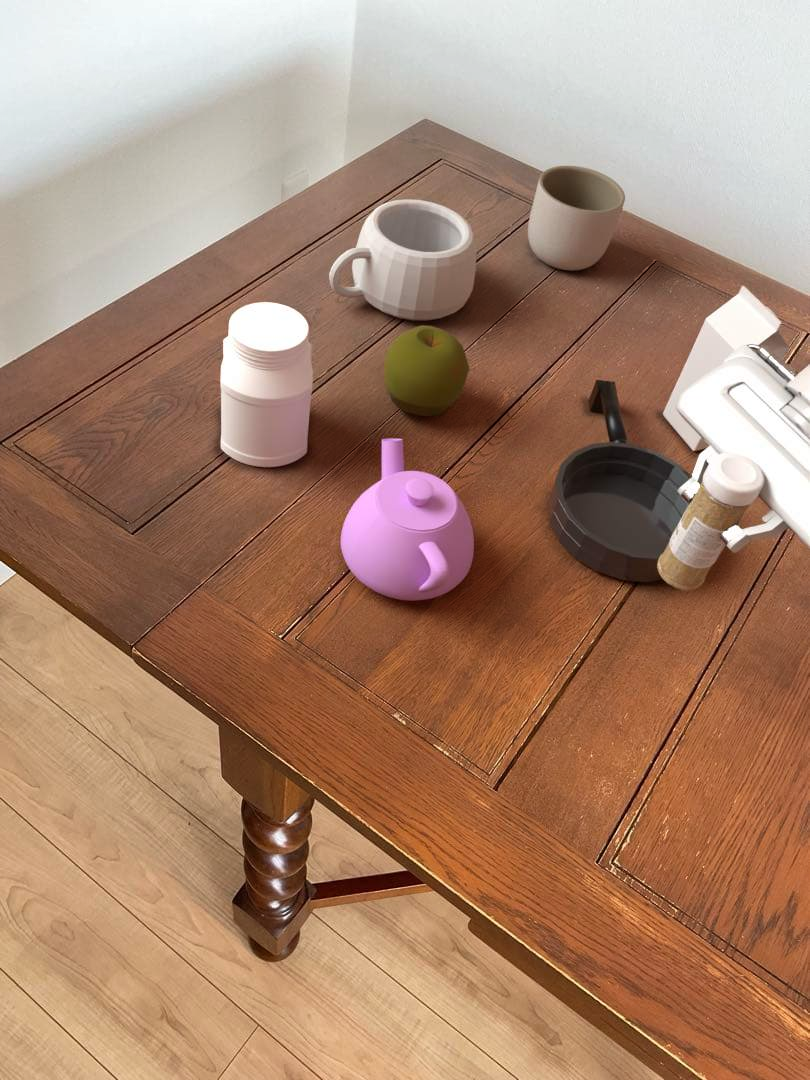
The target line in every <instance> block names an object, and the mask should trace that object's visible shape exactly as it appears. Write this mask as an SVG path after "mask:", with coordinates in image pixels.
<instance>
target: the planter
mask: <svg viewBox="0 0 810 1080" xmlns="http://www.w3.org/2000/svg"><path fill="white" fill-rule="evenodd" d="M625 194H626V193H625V192H624V190H623V188H622V187H621V186H620V185H619V184H618V183H617V182H616V181H615V180H614V179H613V178H611V177H609V176H607V175H605V174H604V173H601V172H599V171H597V170H594V169H591V168H587V167H583V166H578V165H557V166H553V167H550V168H548V169H546V170H544V171H543V172H542V173H541V174H540V176H539V178H538V182H537V185H536V190H535V194H534V198H533V202H532V205H531V210H530V215H529V219H528V223H527V224H528V225H527V239H528V244H529V247H530V248H531V250H532V252H533V254H534V256H535V257H537V258H538V259H539V260H540V261H541V262H542V263H544V264H546V265H547V266H550V267H552V268H555V269H559V270H563V271H581V270H585V269H587V268H590V267H592V266H593V265H595V264H596V263H597V262H598V261H600V259H601V258H602V256H603V255H604V254H605V252H606V251H607V249H608V247H609V245H610V243H611V240H612V238H613V235H614V232H615V230H616V227H617V224H618V221H619V218H620V215H621V213H622V211H623V207H624V204H625V201H626V195H625Z"/></svg>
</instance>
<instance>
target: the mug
mask: <svg viewBox="0 0 810 1080" xmlns="http://www.w3.org/2000/svg"><path fill="white" fill-rule="evenodd" d="M351 262H352V264H351V270H352V271H351V272H352V279H353V284H354V286H345V285H343V284H342V283H341V280H340V279H341V275H342V272H343V271H344V269H345V268H346V267H347V266H348V265H349V264H350V263H351ZM476 268H477V241H476V238H475V235H474V232H473V230H472V227H471V225H470V223H469V222H468V221H467V220H466V219H465V218H464V217H463V216H461V215H460V214H459V213H458V212H456V211H455V210H453V209H451V208H449V207H447V206H444V205H442V204H438V203H436V202H432V201H429V200H428V201H427V200H422V199H409V198H407V199H396V200H391V201H388V202H385V203H381V204H380V205H379V206H377V207H375V208H374V209H373V211H372V212H371V213H370V214H369V216H368V217H366V219H365V221H364V223H363V225H362V227H361V230H360V232H359V235H358V239H357V243H356V246H355V247H352V248H350V249H348V250H346V251H345V252H343V253H342V254H341V255H339V256H338V258H337V259H336V260H334V262H333V264H332V266H331V268H330V271H329V274H328V275H329V276H328V277H329V287H330V288H331V291H332V292H333V293H334V294H336V295H338V296H340V297H343V298H348V299H349V298H350V299H353V298H358V297H359V298H360V297H363V298H364V300H366V302H367V303H368V304H370V305H371V306H373V308H375V309H376V310H379V311H381V312H382V313H385V314H387V315H389V316H392V317H395V318H398V319H402V320H408V321H421V322H424V321H432V320H433V321H434V320H439V319H442V318H445V317H447V316H450V315H452V314H454V313H456V312H457V311H459V310H460V309H461V308H463V307H464V306H465V304H466V303H467V302H468V300H469V298H470V296H471V294H472V292H473V290H474V284H475V278H476Z"/></svg>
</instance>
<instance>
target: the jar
mask: <svg viewBox="0 0 810 1080" xmlns="http://www.w3.org/2000/svg"><path fill="white" fill-rule="evenodd" d="M309 336H310V327H309V323H308V321H307V319H306V318H305V317H304V316H303V315H302V314H301V313H300V312H299V311H298V310H296V309H294V308H293V307H291V306H288V305H285V304H281V303H277V302H270V301H263V302H261V301H259V302H253V303H249V304H245V305H243V306H241V307H240V308H238V309H237V310H236V311H235V312H233V313H232V314H231V316H230V318H229V321H228V336H226V337H225V338H224V339H223V340H222V343H223V344H222V355H223V358H222V361H221V365H220V378H219V379H220V384H219V385H220V392H221V393H220V401H221V402H220V420H221V421H220V423H221V424H220V433H221V434H220V449H221V450H222V452H223V453H225V454H226V455H227V456H228V457H230V458H232V459H233V460H235V461H237V462H239V463H241V464H245V465H248V466H251V467H259V468H276V467H282V466H286V465H290V464H292V463H295V462H296V461H298V460H300V459H301V458H302V457H304V456H305V455H306V454H307V453H308V435H309V423H310V413H311V401H312V394H313V385H314V382H313V381H314V371H313V370H314V369H313V365H312V360H313V351H314V349H313V348H314V346H313V345H312V343H310V342H309Z"/></svg>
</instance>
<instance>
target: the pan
mask: <svg viewBox="0 0 810 1080" xmlns="http://www.w3.org/2000/svg"><path fill="white" fill-rule="evenodd" d="M691 477H692V474H690V473H689V472H688V471H687V469H685V468H684V467H682V466H681V465H680V464H679V463H678V462H676V461H675V460H673V459H671V458H669V457H667V456H665V455H663V454H662V453H660V452H658V451H656V450H653V449H650V448H647V447H643V446H641V445H638V444H634V443H628V444H627V443H618V442H609V441H605V442H598V443H591V444H587V445H586V446H583V447H581V448H579V449H577V450H574V451H572V452H571V453H570V454H569V455H568V456H567V457H566V458H565V459H564V460H563V461H562V463H561V464H560V465H559V468H558V471H557V472H556V476H555V478H554V481H553V484H552V486H551V489H550V492H549V495H548V497H547V501H546V509H547V518H548V523H549V526H550V527H551V529H552V531H553V533H554V534H555V537H556V538H557V540H558V541H559V543H560V544H561V545H562V546H563V547H564V548H565V549H566V550H567V551H568V552H569V553H570V554H571V555H572V556H573V557H574V558H575V559H576V560H578V561H580V562H581V563H583V564H584V565H586V566H588V567H589V568H590V569H592V570H594V571H596V572H598V573H600V574H604V575H606V576H609V577H612V578H615V579H618V580H621V581H628V582H639V583H650V582H657V581H661V580H664V579H663V578H662V577H661V576H660V574H659V572H658V569H657V563H658V559H659V557H660V556H661V555H662V554H663V552H664V551H665V549H666V547H667V546H668V544H669V542H670V538H671V536H672V534H673V533H674V531H675V529H676V527H677V525H678V524H679V522H680V520H681V518H682V516H683V514H684V512H685V511H686V509H687V507H688V506H689V504H688V503H687V502H686V500H685V499H684V498H683V497H682V496H681V495H680V494H679V493H678V489H679V488H680V487H681V486H682V485H683V484H685V483H686V482H687V481H688V480H689V479H690V478H691Z"/></svg>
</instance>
